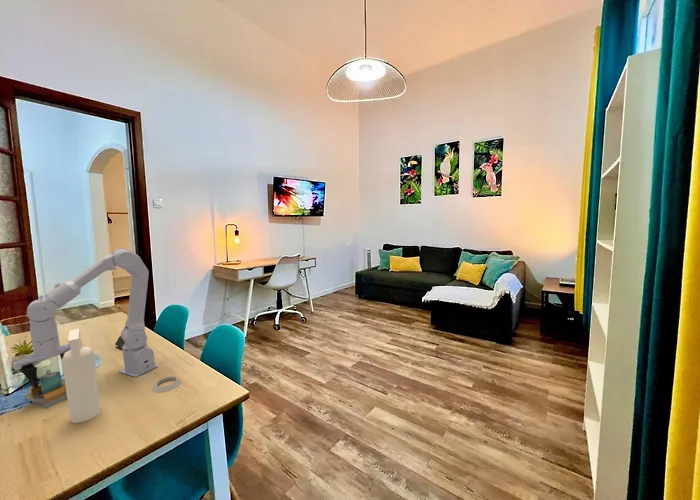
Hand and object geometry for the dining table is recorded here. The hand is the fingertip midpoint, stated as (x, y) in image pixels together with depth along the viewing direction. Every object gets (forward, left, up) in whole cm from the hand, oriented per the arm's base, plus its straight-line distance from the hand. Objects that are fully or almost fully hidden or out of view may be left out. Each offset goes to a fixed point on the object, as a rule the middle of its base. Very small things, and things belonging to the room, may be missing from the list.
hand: (51, 380), depth 93 cm
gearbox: (0, -1, -5) cm, 5 cm away
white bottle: (-20, +1, -5) cm, 21 cm away
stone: (+19, -32, -6) cm, 38 cm away
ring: (-28, -17, -6) cm, 33 cm away
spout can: (+1, 0, -3) cm, 3 cm away
